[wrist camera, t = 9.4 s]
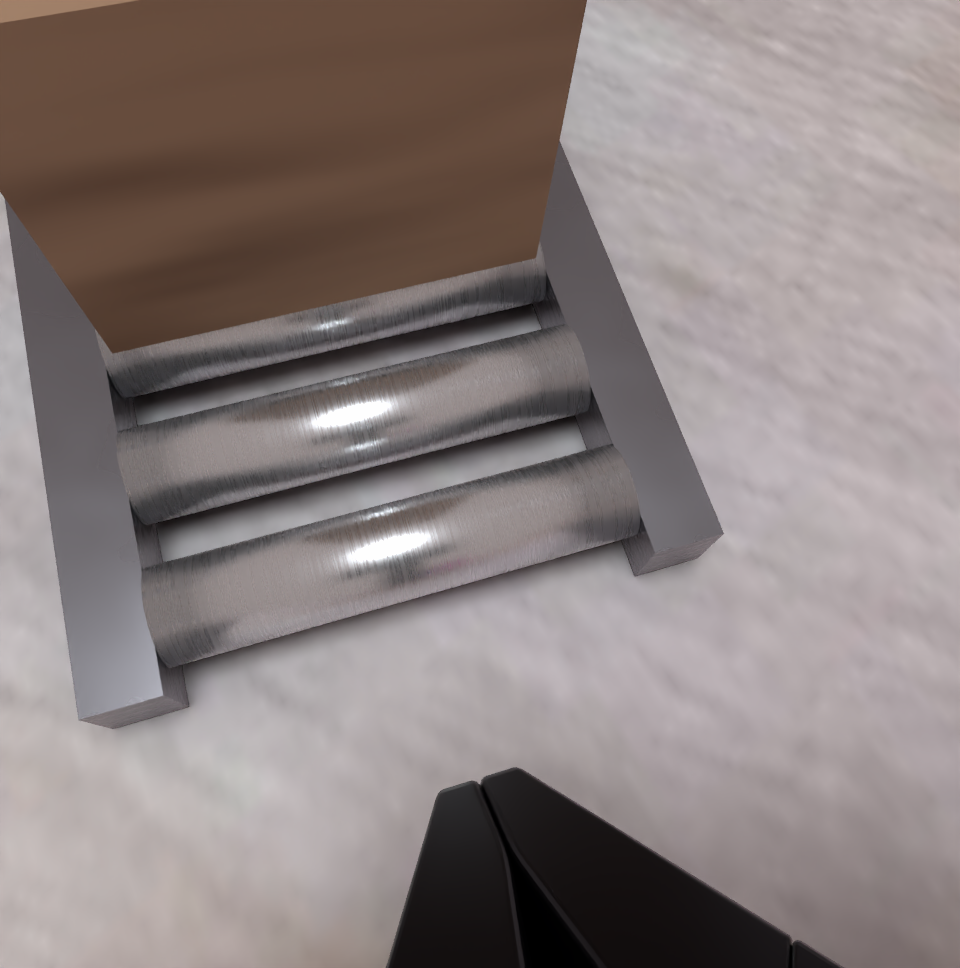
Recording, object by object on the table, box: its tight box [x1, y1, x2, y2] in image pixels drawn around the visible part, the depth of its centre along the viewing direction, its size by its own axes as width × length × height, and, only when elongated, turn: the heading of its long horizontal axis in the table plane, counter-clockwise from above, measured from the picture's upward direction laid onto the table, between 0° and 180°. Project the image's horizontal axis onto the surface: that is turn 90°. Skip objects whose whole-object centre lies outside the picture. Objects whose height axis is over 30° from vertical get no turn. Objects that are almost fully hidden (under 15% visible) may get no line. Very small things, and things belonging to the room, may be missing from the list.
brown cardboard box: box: [0, 0, 587, 354], centre depth 16 cm, size 8×9×8 cm
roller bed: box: [5, 141, 724, 729], centre depth 18 cm, size 18×13×6 cm
